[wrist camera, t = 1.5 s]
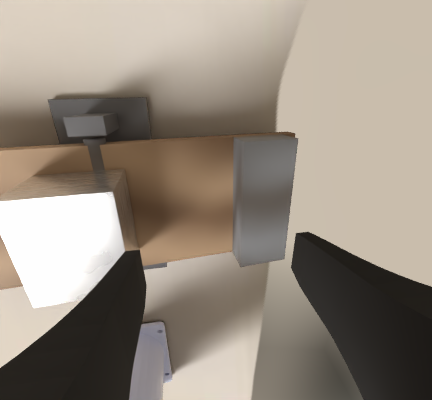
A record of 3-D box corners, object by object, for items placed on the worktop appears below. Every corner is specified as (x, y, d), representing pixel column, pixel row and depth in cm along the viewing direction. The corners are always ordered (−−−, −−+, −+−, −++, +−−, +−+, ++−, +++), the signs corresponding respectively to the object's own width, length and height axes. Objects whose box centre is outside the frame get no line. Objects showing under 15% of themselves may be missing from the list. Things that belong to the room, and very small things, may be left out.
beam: (276, 239, 21) (295, 260, 18) (-84, 297, 16) (-136, 339, 13) (287, 127, 17) (313, 132, 15) (-185, 151, 12) (-287, 168, 9)
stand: (166, 262, 22) (165, 295, 18) (98, 270, 21) (82, 306, 17) (146, 97, 16) (138, 97, 13) (52, 99, 15) (15, 99, 12)
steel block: (139, 250, 17) (133, 291, 13) (61, 261, 16) (33, 308, 12) (124, 169, 15) (113, 191, 11) (33, 175, 14) (-13, 203, 10)
